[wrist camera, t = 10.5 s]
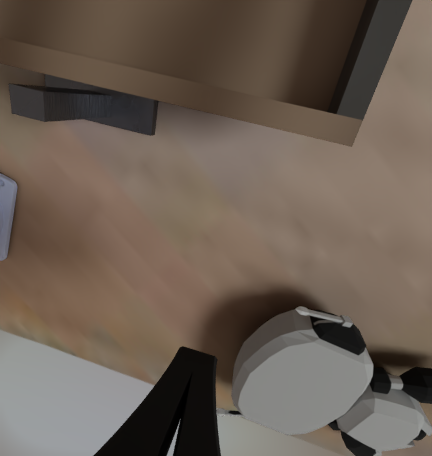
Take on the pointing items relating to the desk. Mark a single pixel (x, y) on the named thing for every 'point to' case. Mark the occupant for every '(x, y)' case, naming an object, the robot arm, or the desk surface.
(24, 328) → the desk surface
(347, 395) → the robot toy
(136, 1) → the wooden rimmed tray
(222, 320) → the desk surface
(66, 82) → the pivot stand
